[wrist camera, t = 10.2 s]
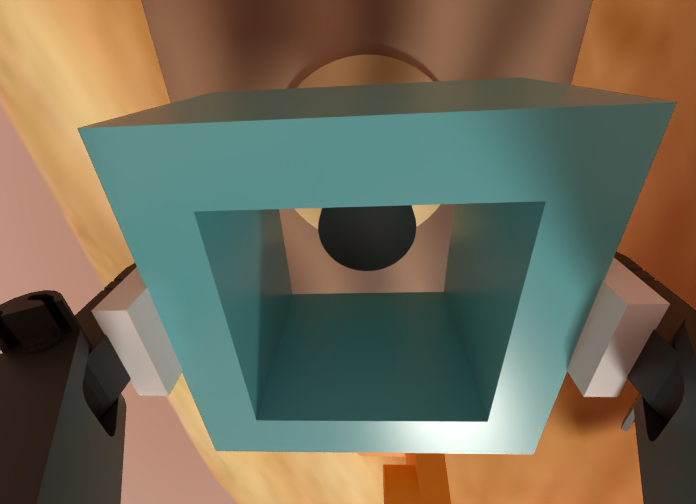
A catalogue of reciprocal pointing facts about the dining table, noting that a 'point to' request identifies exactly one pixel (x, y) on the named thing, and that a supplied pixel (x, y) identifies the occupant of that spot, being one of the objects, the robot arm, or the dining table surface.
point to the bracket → (415, 479)
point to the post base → (362, 69)
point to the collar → (379, 308)
